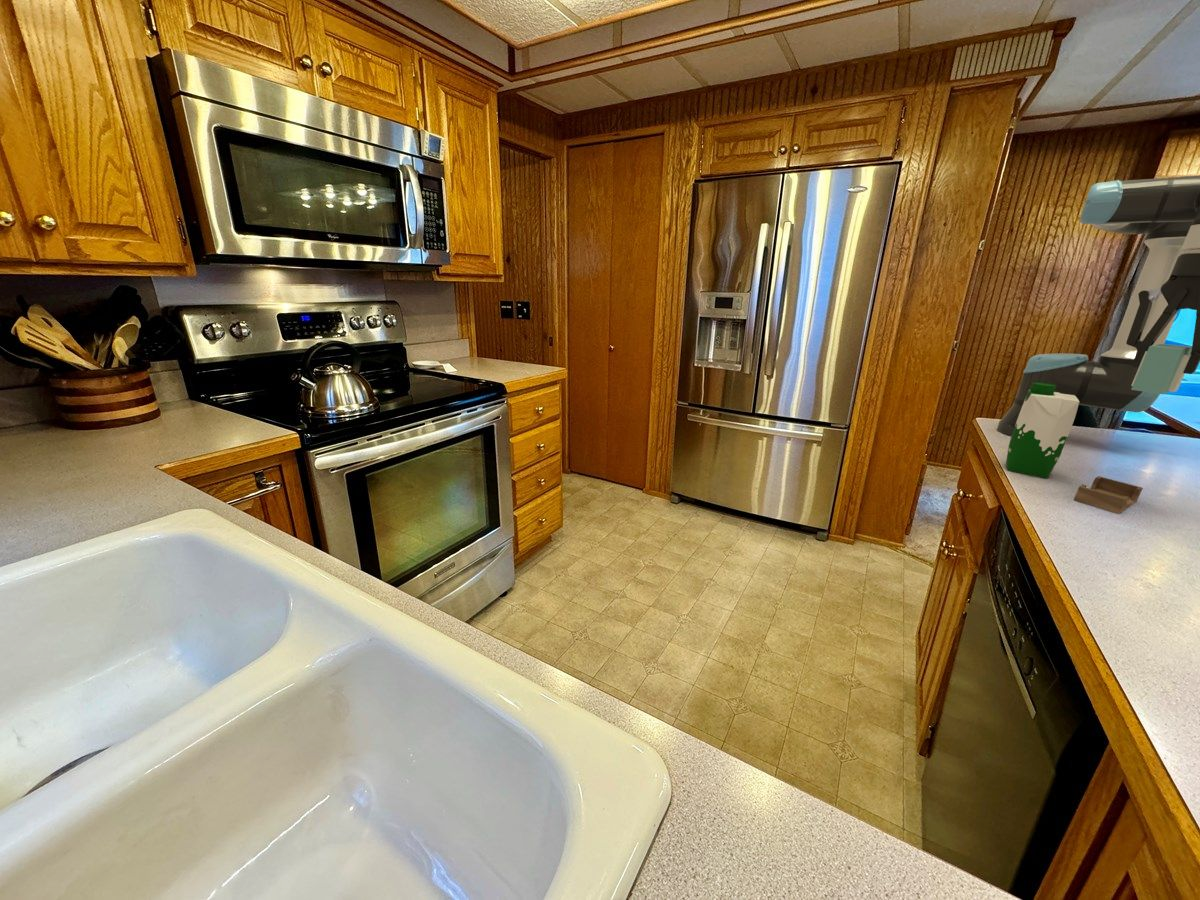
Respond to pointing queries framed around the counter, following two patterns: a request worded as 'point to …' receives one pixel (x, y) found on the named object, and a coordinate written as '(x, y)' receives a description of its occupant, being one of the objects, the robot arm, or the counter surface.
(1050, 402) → the milk carton
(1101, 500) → the holder
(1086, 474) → the counter surface
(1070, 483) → the counter surface
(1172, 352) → the key block
